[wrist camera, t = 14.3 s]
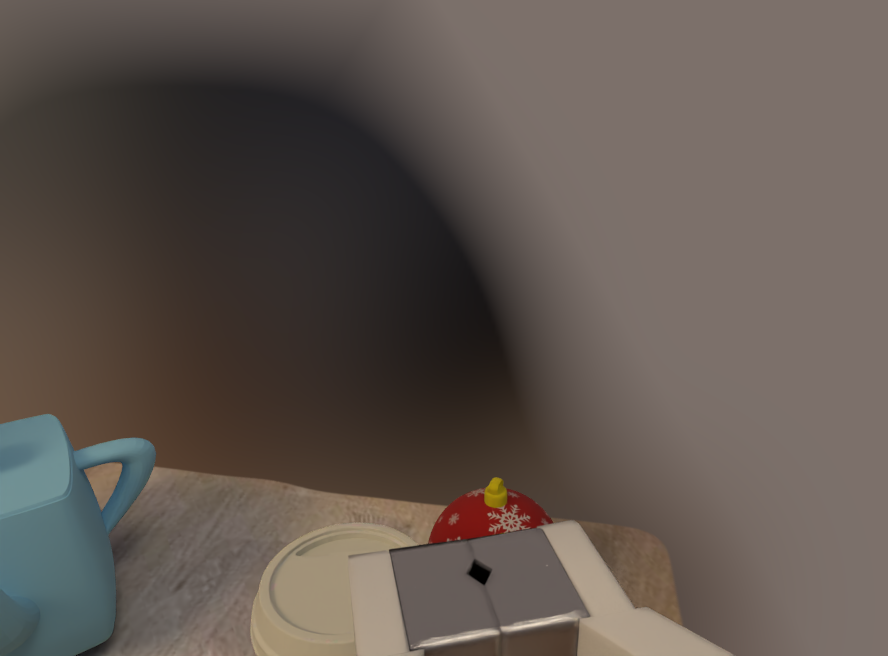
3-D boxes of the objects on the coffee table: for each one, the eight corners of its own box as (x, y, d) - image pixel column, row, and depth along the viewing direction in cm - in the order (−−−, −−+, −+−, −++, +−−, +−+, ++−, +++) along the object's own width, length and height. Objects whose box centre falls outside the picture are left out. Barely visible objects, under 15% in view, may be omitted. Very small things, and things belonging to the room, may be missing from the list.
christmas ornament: (405, 638, 40) (399, 503, 36) (458, 552, 47) (457, 433, 44) (539, 686, 37) (546, 542, 33) (574, 585, 44) (583, 459, 40)
